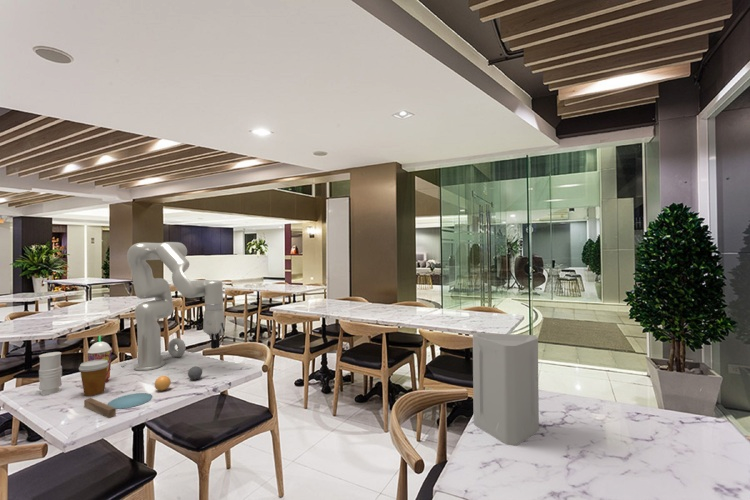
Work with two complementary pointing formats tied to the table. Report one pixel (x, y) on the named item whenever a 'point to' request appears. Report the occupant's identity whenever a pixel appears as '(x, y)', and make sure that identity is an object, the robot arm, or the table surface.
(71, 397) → the table surface
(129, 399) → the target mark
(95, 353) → the smoothie
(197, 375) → the grey ball
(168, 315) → the robot arm
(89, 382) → the disposable coffee cup
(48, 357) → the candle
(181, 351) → the donut
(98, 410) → the wall
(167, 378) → the object ball
